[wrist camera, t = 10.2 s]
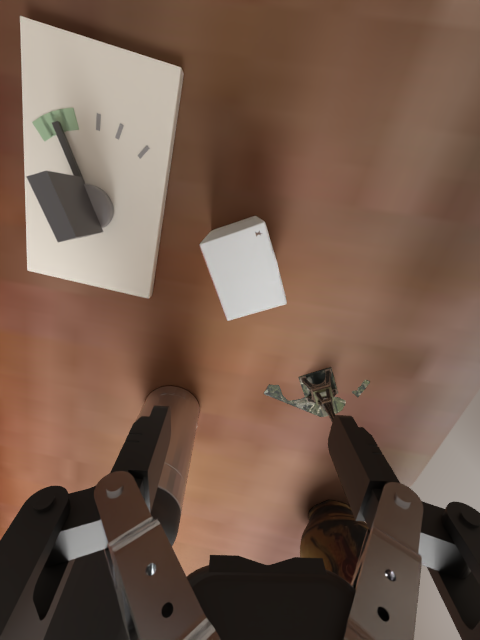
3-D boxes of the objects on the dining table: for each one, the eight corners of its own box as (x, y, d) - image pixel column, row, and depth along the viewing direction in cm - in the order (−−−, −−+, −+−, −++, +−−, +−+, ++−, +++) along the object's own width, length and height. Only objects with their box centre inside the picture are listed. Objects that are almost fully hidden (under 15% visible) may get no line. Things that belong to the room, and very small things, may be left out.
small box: (210, 230, 37) (197, 242, 25) (256, 214, 36) (266, 219, 24) (229, 287, 40) (226, 322, 28) (273, 273, 39) (289, 304, 27)
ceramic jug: (282, 533, 61) (321, 811, 33) (309, 484, 55) (382, 769, 27) (354, 546, 62) (448, 818, 35) (387, 500, 57) (530, 781, 29)
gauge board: (152, 295, 40) (148, 298, 39) (34, 268, 38) (26, 270, 37) (183, 73, 31) (181, 66, 29) (30, 25, 29) (19, 15, 28)
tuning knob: (121, 227, 35) (90, 233, 28) (84, 237, 35) (44, 246, 28) (78, 116, 31) (28, 88, 23) (36, 129, 31) (-26, 106, 24)
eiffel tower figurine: (261, 392, 47) (270, 458, 35) (291, 343, 44) (312, 397, 31) (336, 421, 50) (369, 493, 38) (370, 378, 46) (418, 440, 34)
